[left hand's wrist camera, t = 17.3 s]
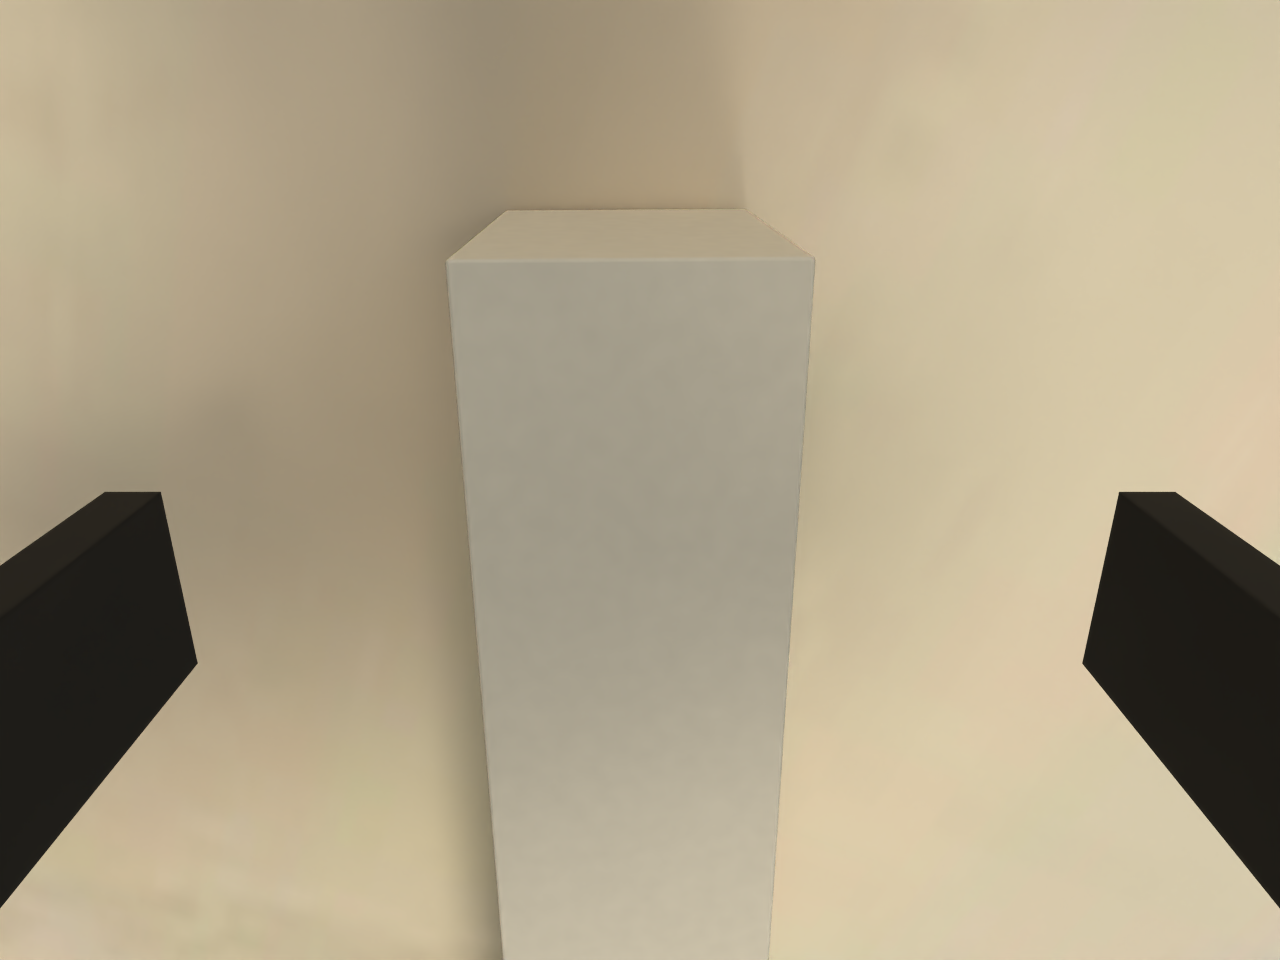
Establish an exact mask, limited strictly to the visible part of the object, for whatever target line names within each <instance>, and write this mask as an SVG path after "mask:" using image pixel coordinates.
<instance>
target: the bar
mask: <svg viewBox="0 0 1280 960" xmlns="http://www.w3.org/2000/svg"><path fill="white" fill-rule="evenodd" d="M445 265H446V277H447V289H448V301H449V313H450V326H451V338H452V350H453V362H454V374H455V386H456V398H457V410H458V422H459V435H460V447H461V459H462V471H463V483H464V495H465V507H466V519H467V532H468V544H469V556H470V568H471V580H472V592H473V604H474V616H475V628H476V641H477V653H478V665H479V677H480V689H481V701H482V713H483V725H484V738H485V750H486V762H487V774H488V786H489V798H490V810H491V822H492V835H493V847H494V859H495V871H496V883H497V895H498V907H499V919H500V931H501V944H502V956H503V960H769V948H770V933H771V918H772V903H773V888H774V873H775V858H776V843H777V828H778V813H779V798H780V783H781V768H782V753H783V738H784V723H785V708H786V693H787V678H788V663H789V648H790V633H791V618H792V603H793V588H794V573H795V558H796V543H797V528H798V513H799V498H800V483H801V468H802V453H803V438H804V423H805V408H806V393H807V378H808V363H809V348H810V333H811V318H812V303H813V288H814V273H815V258H814V257H813V256H812V255H810V254H809V253H807V252H806V251H805V250H803V249H802V248H800V247H799V246H798V245H796V244H795V243H793V242H792V241H790V240H789V239H788V238H786V237H785V236H783V235H782V234H781V233H779V232H778V231H776V230H775V229H774V228H772V227H771V226H769V225H768V224H766V223H765V222H764V221H762V220H761V219H759V218H758V217H757V216H755V215H754V214H752V213H751V212H750V211H748V210H746V209H641V210H507V211H505V212H504V213H503V214H502V215H500V216H499V217H498V218H497V219H496V220H494V221H493V222H492V223H491V224H489V225H488V226H487V227H486V228H485V229H483V230H482V231H481V232H480V233H479V234H477V235H476V236H475V237H474V238H473V239H471V240H470V241H469V242H468V243H466V244H465V245H464V246H463V247H462V248H460V249H459V250H458V251H457V252H456V253H454V254H453V255H452V256H451V257H450V258H448V259H447V260H446V263H445Z"/></svg>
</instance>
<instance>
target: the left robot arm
mask: <svg viewBox="0 0 1280 960" xmlns="http://www.w3.org/2000/svg"><path fill="white" fill-rule="evenodd" d="M197 664H198V663H197V658H196V654H195V649H194V644H193V640H192V635H191V630H190V626H189V621H188V616H187V612H186V607H185V603H184V598H183V593H182V589H181V584H180V579H179V575H178V570H177V565H176V561H175V556H174V551H173V547H172V542H171V537H170V533H169V528H168V523H167V519H166V514H165V510H164V505H163V500H162V496H161V492H104V493H103V494H101V495H100V496H98V497H97V498H96V499H94V500H93V501H91V502H90V503H88V504H87V505H86V506H84V507H83V508H81V509H80V510H79V511H77V512H76V513H74V514H73V515H71V516H70V517H69V518H67V519H66V520H64V521H63V522H62V523H60V524H59V525H57V526H56V527H54V528H53V529H52V530H50V531H49V532H47V533H46V534H44V535H43V536H42V537H40V538H39V539H37V540H36V541H35V542H33V543H32V544H30V545H29V546H27V547H26V548H25V549H23V550H22V551H20V552H19V553H18V554H16V555H15V556H13V557H12V558H10V559H9V560H8V561H6V562H5V563H3V564H2V565H1V566H0V908H1V907H2V905H3V904H4V903H5V902H6V900H7V899H8V898H9V897H10V895H11V894H12V893H13V892H14V891H15V889H16V888H17V887H18V886H19V884H20V883H21V882H22V881H23V879H24V878H25V877H26V876H27V874H28V873H29V872H30V871H31V869H32V868H33V867H34V866H35V864H36V863H37V862H38V861H39V859H40V858H41V857H42V856H43V855H44V853H45V852H46V851H47V850H48V848H49V847H50V846H51V845H52V843H53V842H54V841H55V840H56V838H57V837H58V836H59V835H60V833H61V832H62V831H63V830H64V828H65V827H66V826H67V825H68V824H69V822H70V821H71V820H72V819H73V817H74V816H75V815H76V814H77V812H78V811H79V810H80V809H81V807H82V806H83V805H84V804H85V802H86V801H87V800H88V799H89V797H90V796H91V795H92V794H93V793H94V791H95V790H96V789H97V788H98V786H99V785H100V784H101V783H102V781H103V780H104V779H105V778H106V776H107V775H108V774H109V773H110V771H111V770H112V769H113V768H114V766H115V765H116V764H117V763H118V762H119V760H120V759H121V758H122V757H123V755H124V754H125V753H126V752H127V750H128V749H129V748H130V747H131V745H132V744H133V743H134V742H135V740H136V739H137V738H138V737H139V735H140V734H141V733H142V732H143V731H144V729H145V728H146V727H147V726H148V724H149V723H150V722H151V721H152V719H153V718H154V717H155V716H156V714H157V713H158V712H159V711H160V709H161V708H162V707H163V706H164V704H165V703H166V702H167V701H168V700H169V698H170V697H171V696H172V695H173V693H174V692H175V691H176V690H177V688H178V687H179V686H180V685H181V683H182V682H183V681H184V680H185V678H186V677H187V676H188V675H189V673H190V672H191V671H192V670H193V669H194V667H195V666H196V665H197ZM1082 664H1083V665H1084V666H1085V667H1086V669H1087V670H1088V671H1089V672H1090V673H1091V675H1092V676H1093V677H1094V678H1095V680H1096V681H1097V682H1098V683H1099V685H1100V686H1101V687H1102V688H1103V690H1104V691H1105V692H1106V693H1107V695H1108V696H1109V697H1110V698H1111V700H1112V701H1113V702H1114V703H1115V704H1116V706H1117V707H1118V708H1119V709H1120V711H1121V712H1122V713H1123V714H1124V716H1125V717H1126V718H1127V719H1128V721H1129V722H1130V723H1131V724H1132V726H1133V727H1134V728H1135V729H1136V731H1137V732H1138V733H1139V734H1140V735H1141V737H1142V738H1143V739H1144V740H1145V742H1146V743H1147V744H1148V745H1149V747H1150V748H1151V749H1152V750H1153V752H1154V753H1155V754H1156V755H1157V757H1158V758H1159V759H1160V760H1161V762H1162V763H1163V764H1164V765H1165V766H1166V768H1167V769H1168V770H1169V771H1170V773H1171V774H1172V775H1173V776H1174V778H1175V779H1176V780H1177V781H1178V783H1179V784H1180V785H1181V786H1182V788H1183V789H1184V790H1185V791H1186V793H1187V794H1188V795H1189V796H1190V797H1191V799H1192V800H1193V801H1194V802H1195V804H1196V805H1197V806H1198V807H1199V809H1200V810H1201V811H1202V812H1203V814H1204V815H1205V816H1206V817H1207V819H1208V820H1209V821H1210V822H1211V824H1212V825H1213V826H1214V827H1215V828H1216V830H1217V831H1218V832H1219V833H1220V835H1221V836H1222V837H1223V838H1224V840H1225V841H1226V842H1227V843H1228V845H1229V846H1230V847H1231V848H1232V850H1233V851H1234V852H1235V853H1236V855H1237V856H1238V857H1239V858H1240V859H1241V861H1242V862H1243V863H1244V864H1245V866H1246V867H1247V868H1248V869H1249V871H1250V872H1251V873H1252V874H1253V876H1254V877H1255V878H1256V879H1257V881H1258V882H1259V883H1260V884H1261V886H1262V887H1263V888H1264V889H1265V891H1266V892H1267V893H1268V894H1269V895H1270V897H1271V898H1272V899H1273V900H1274V902H1275V903H1276V904H1277V905H1278V907H1279V908H1280V566H1279V565H1278V564H1277V563H1275V562H1274V561H1272V560H1271V559H1270V558H1268V557H1267V556H1265V555H1264V554H1262V553H1261V552H1260V551H1258V550H1257V549H1255V548H1254V547H1253V546H1251V545H1250V544H1248V543H1247V542H1245V541H1244V540H1243V539H1241V538H1240V537H1238V536H1237V535H1236V534H1234V533H1233V532H1231V531H1230V530H1228V529H1227V528H1226V527H1224V526H1223V525H1221V524H1220V523H1218V522H1217V521H1216V520H1214V519H1213V518H1211V517H1210V516H1209V515H1207V514H1206V513H1204V512H1203V511H1201V510H1200V509H1199V508H1197V507H1196V506H1194V505H1193V504H1192V503H1190V502H1189V501H1187V500H1186V499H1184V498H1183V497H1182V496H1180V495H1179V494H1177V493H1176V492H1119V496H1118V500H1117V505H1116V510H1115V514H1114V519H1113V523H1112V528H1111V533H1110V537H1109V542H1108V547H1107V551H1106V556H1105V561H1104V565H1103V570H1102V575H1101V579H1100V584H1099V589H1098V593H1097V598H1096V603H1095V607H1094V612H1093V616H1092V621H1091V626H1090V630H1089V635H1088V640H1087V644H1086V649H1085V654H1084V658H1083V663H1082Z"/></svg>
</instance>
